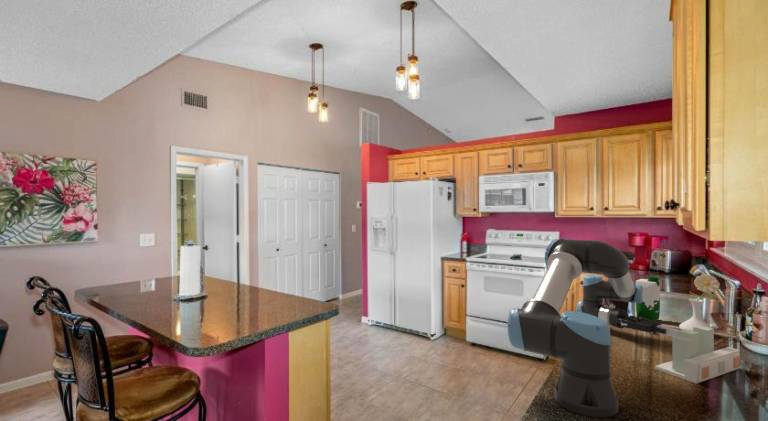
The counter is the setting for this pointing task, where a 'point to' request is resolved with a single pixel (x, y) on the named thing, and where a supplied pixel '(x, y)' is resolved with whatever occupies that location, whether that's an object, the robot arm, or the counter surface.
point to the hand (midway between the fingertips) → (677, 334)
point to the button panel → (695, 364)
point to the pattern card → (719, 366)
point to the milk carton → (649, 299)
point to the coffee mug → (618, 304)
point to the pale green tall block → (681, 352)
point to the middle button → (693, 336)
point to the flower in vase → (708, 286)
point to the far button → (705, 339)
